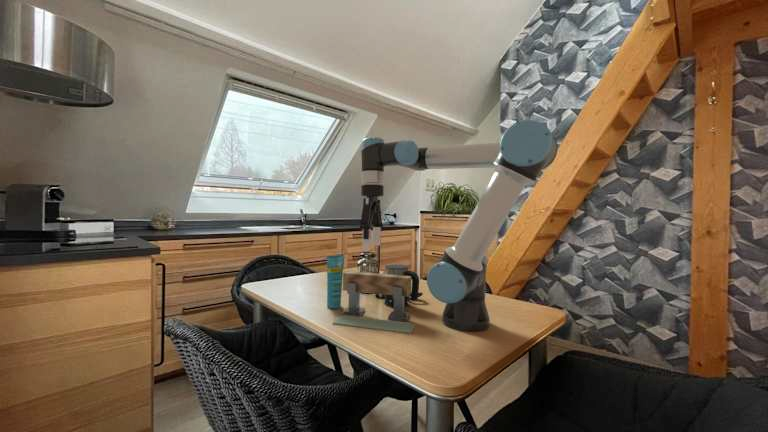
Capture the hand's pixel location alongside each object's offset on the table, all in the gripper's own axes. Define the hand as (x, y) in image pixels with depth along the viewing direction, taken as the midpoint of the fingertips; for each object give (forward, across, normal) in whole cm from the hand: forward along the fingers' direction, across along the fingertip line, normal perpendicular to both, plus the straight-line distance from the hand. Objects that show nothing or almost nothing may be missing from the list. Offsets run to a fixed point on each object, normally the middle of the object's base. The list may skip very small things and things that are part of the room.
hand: (371, 247), depth 114 cm
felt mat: (+24, +7, +3) cm, 25 cm away
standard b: (+23, -2, -7) cm, 24 cm away
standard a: (+24, -2, +9) cm, 25 cm away
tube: (+23, -6, -16) cm, 29 cm away
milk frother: (+24, -21, +8) cm, 32 cm away
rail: (+16, -2, +1) cm, 16 cm away
